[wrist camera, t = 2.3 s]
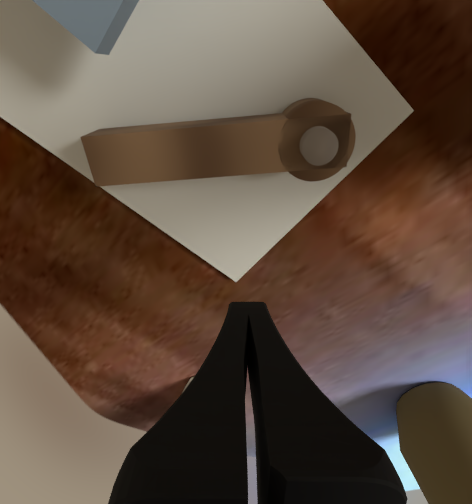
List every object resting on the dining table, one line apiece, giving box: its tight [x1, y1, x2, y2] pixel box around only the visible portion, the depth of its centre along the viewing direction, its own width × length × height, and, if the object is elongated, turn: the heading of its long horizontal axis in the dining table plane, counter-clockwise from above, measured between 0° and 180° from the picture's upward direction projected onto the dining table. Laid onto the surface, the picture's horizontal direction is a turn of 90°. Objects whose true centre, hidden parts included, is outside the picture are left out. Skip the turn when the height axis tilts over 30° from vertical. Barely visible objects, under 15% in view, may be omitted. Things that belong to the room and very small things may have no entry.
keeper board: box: [0, 0, 414, 282], centre depth 14 cm, size 20×14×6 cm
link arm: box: [80, 98, 356, 187], centre depth 16 cm, size 13×4×3 cm, turn 95°
